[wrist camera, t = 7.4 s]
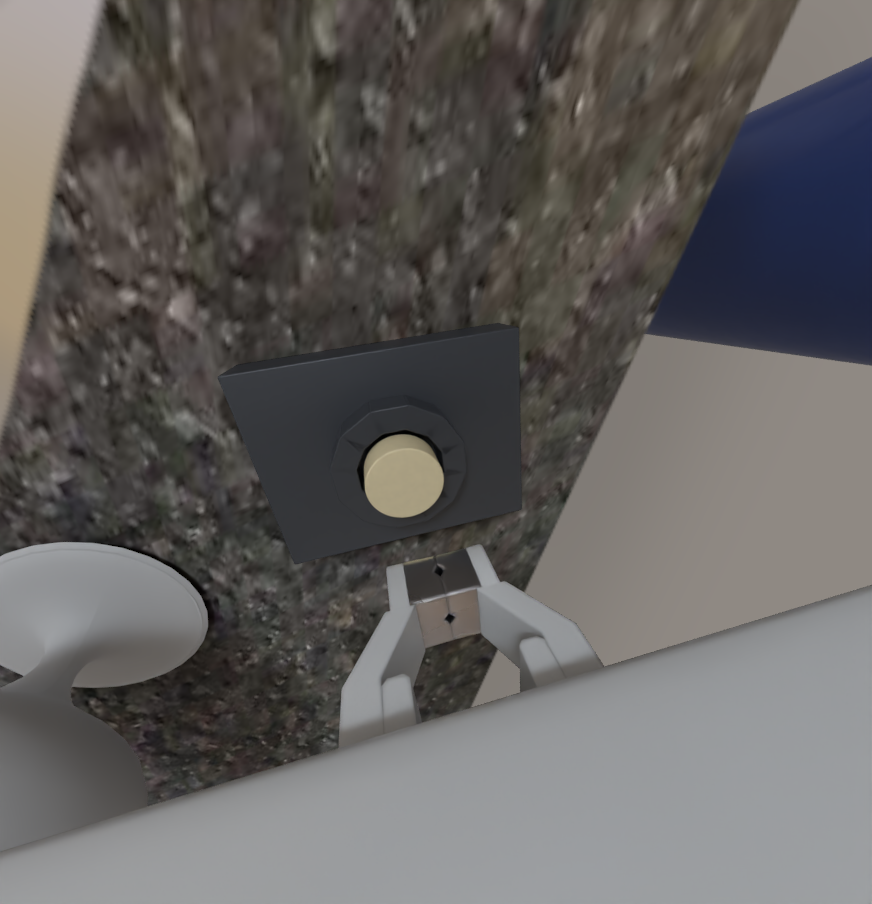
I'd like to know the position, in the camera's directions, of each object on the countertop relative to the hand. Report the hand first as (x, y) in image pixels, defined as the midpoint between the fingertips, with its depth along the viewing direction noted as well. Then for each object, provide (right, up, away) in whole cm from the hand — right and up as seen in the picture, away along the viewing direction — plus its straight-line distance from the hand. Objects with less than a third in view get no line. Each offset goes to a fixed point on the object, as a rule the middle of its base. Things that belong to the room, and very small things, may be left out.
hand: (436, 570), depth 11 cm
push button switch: (-2, +3, +6) cm, 7 cm away
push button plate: (-3, +5, +10) cm, 11 cm away
